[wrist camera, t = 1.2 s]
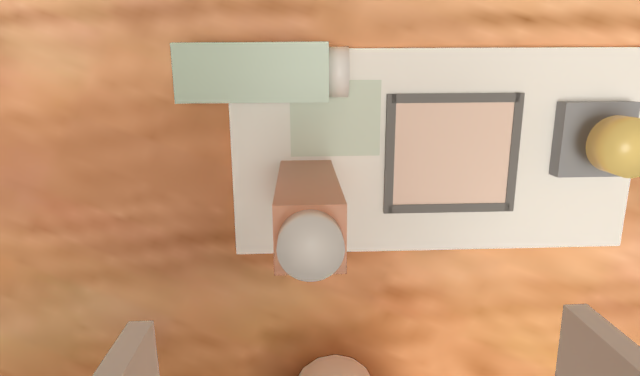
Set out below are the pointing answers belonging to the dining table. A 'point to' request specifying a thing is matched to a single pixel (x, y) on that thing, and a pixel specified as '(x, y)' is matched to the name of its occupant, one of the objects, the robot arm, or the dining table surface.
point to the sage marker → (259, 72)
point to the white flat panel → (450, 148)
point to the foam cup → (334, 367)
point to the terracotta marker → (309, 221)
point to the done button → (615, 146)
